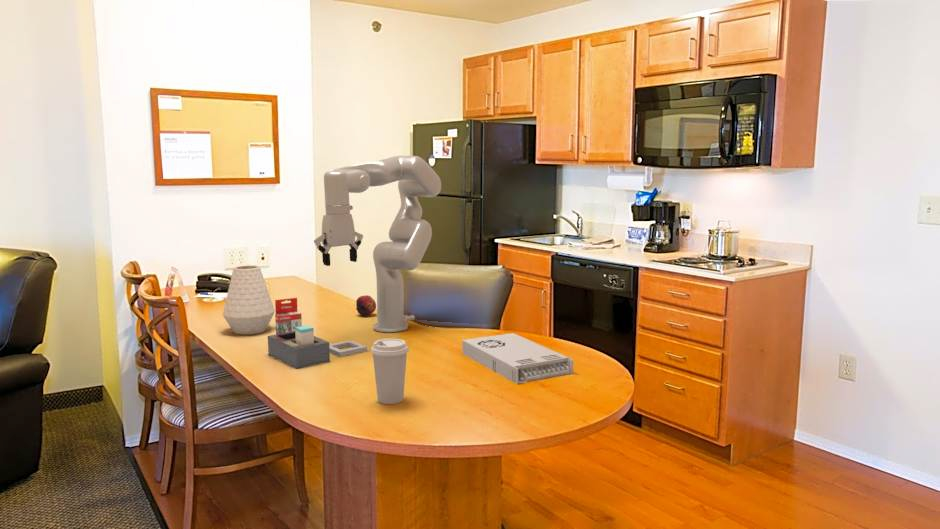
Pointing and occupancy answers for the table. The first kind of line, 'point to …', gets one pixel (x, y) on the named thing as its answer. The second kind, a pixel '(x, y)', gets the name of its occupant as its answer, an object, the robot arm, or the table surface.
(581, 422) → the table surface
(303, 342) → the plug
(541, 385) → the table surface
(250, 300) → the vase
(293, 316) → the ink box
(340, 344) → the white square frame
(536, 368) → the power supply unit
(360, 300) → the fruit
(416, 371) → the table surface
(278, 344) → the port block
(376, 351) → the coffee cup
